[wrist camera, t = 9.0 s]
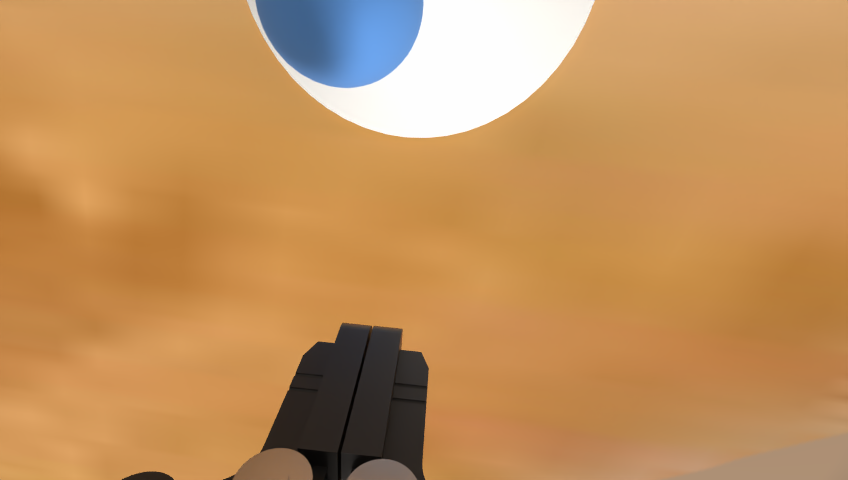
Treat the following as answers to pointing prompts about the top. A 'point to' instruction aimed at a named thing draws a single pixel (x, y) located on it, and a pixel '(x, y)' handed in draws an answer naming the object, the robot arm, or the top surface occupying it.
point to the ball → (342, 37)
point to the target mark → (459, 66)
